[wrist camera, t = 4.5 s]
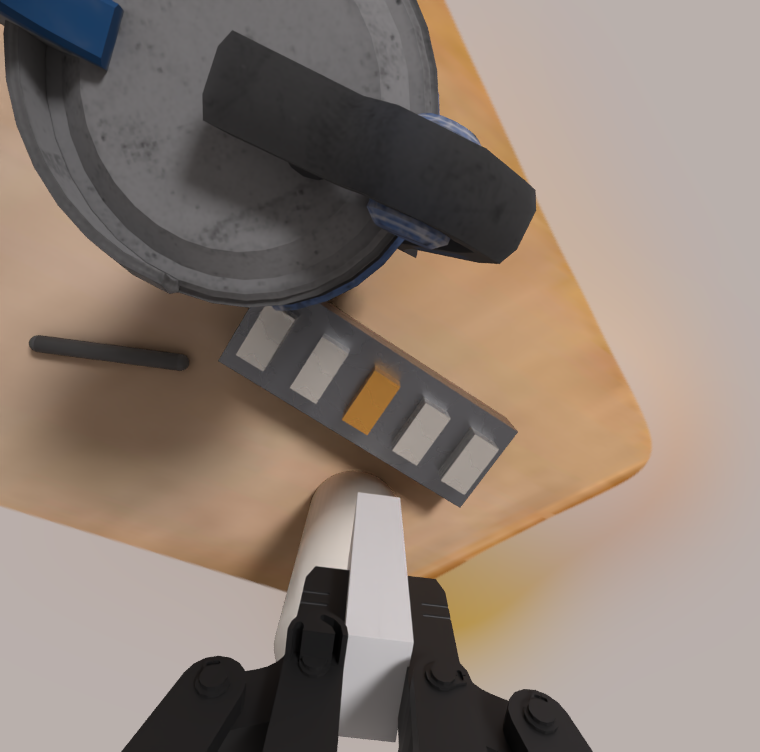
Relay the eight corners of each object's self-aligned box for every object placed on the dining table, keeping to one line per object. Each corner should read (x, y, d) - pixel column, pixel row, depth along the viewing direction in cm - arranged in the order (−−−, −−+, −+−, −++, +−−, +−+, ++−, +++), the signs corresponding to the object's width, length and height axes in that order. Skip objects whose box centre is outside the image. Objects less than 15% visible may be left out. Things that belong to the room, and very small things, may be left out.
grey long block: (233, 351, 35) (210, 365, 31) (281, 270, 34) (265, 272, 29) (452, 485, 38) (463, 518, 33) (504, 416, 37) (524, 439, 32)
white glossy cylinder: (305, 544, 39) (268, 697, 25) (315, 465, 37) (280, 583, 23) (390, 554, 39) (399, 711, 25) (403, 476, 37) (419, 599, 24)
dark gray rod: (36, 349, 35) (25, 352, 34) (36, 333, 34) (24, 335, 33) (191, 369, 35) (185, 373, 34) (192, 353, 35) (185, 357, 34)
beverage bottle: (394, 317, 34) (442, 450, 10) (221, 240, 33) (-204, 180, 9) (456, 180, 32) (702, -65, 8) (273, 92, 31) (-96, -528, 7)
